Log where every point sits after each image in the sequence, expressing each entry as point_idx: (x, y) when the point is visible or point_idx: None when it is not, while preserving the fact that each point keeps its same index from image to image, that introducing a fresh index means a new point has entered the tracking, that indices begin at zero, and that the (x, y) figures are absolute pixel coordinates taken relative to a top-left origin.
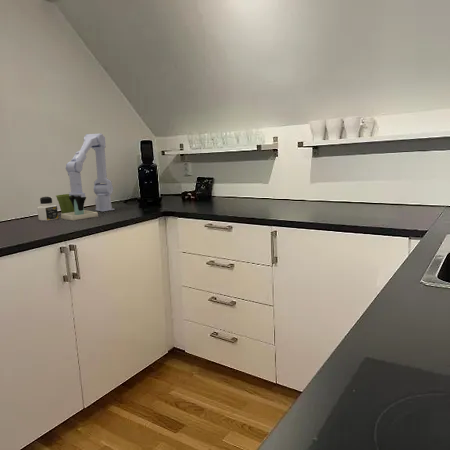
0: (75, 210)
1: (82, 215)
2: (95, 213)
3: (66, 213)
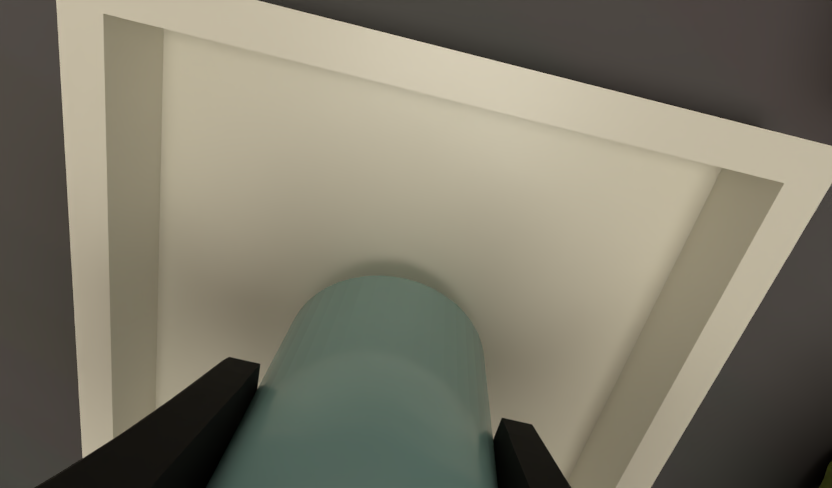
0: (360, 338)
1: (87, 235)
2: None
3: (726, 281)
